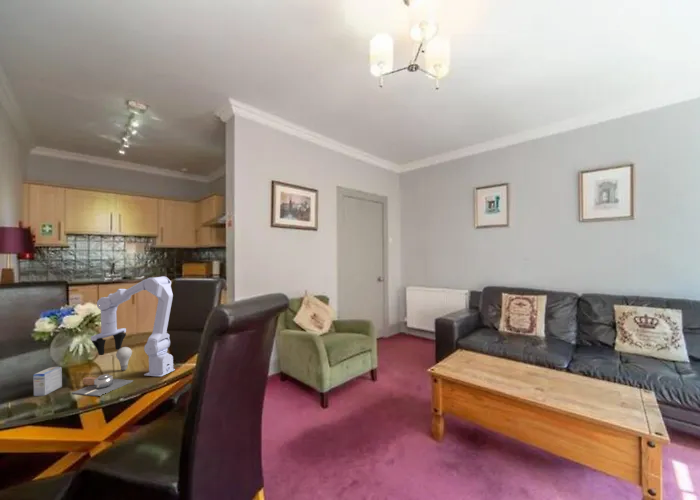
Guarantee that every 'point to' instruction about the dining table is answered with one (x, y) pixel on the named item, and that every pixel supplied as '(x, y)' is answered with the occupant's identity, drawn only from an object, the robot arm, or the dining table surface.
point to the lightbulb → (124, 357)
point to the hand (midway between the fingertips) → (110, 351)
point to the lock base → (99, 391)
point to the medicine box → (47, 381)
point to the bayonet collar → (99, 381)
